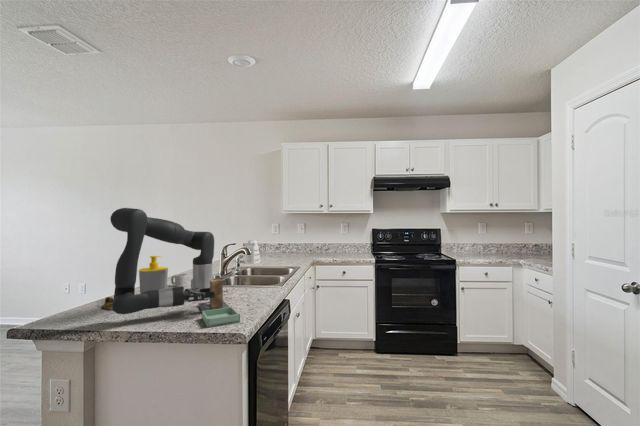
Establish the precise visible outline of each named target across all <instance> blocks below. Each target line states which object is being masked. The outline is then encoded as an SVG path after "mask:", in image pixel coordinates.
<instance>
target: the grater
mask: <svg viewBox="0 0 640 426" xmlns="http://www.w3.org/2000/svg"><path fill="white" fill-rule="evenodd" d="M252 241H253V242H254V244H251V242H252ZM246 248H248V249H250V251H251V252H252V254H251V255H246V254H245V256H244V264H251V265H254V264H255V265H256V264H259V263H261V261H262V260H261V255H260V254H261V253H260V247H259V245H258V241H257V240H247V245H246Z"/></svg>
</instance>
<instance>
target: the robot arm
mask: <svg viewBox="0 0 640 426" xmlns="http://www.w3.org/2000/svg"><path fill="white" fill-rule="evenodd" d="M109 219H110V223H111V225H112V226H113V228H114V229H116V230H117V231H119V232H124V233H126V234H127V235H126V236H127V238H126V244H125V247H124V249H123V251H122V253H121V254H120V256H119V258H118V260H117V263H116V266H115V273H114V285H115V287H114V295H113V303H112V309H113V310H112V312H114V313H116V314H118V315H128V314H129V315H130V314H132V313H138V312H141V311H143V310H144V311H145V310H149V309H157V308H158V309H159V308H171V307H180V306H184V305H185V301H186V300H187V302H188V303H191V302H193V303H194V302H199V301H200V302H201V301H206V300H210V298H212V297H215V293H214V292H210V280H213V259H214V257H215V237H214V234H213V233H212V232H210V231H193V230H187V229H185V227H184V226H182V225H181V224H179V223H177V222H175V221H171V220H169V219H168V220H167V219H163V218H157V217H156V218H155V217H149V216H148V215H147V213H146V212H145V211H144V210H142V209H140V208H131V207H121V208H118V209H116V210H115V211H113V212H112V214H111V215H110V218H109ZM145 236H146V237H149V238H151V239H155V240H158V241H162V242H165V243H168V244H175V245H183V246H185V247H187V248H190V249H192V250H196V251H200V252H199V253H200V254H199V255H198V256H195V257H193V259H192V278H191V280H190V288H185V287H175V286H174V287H167V288H164V289H159V290H150V291H145V292H143V293H142V294H140V293H138V294H137V293H136V292H135V291H136V290H135V289H136V288H135V287H136V282H137V275H138V274H137V273H138V262H139V258H140V252H141V249H142V246H143V242H144V239H145Z"/></svg>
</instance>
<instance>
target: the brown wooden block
mask: <svg viewBox="0 0 640 426" xmlns="http://www.w3.org/2000/svg"><path fill="white" fill-rule="evenodd" d="M223 288H224V281H223V279H221V278H217V279H212V280H210V292H214V293H215V297H212V298H210V299H209V301H210V308H211V310H213V309H220V308H223V301H224V299H223V295H224V294H223V293H224V289H223Z"/></svg>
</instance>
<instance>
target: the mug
mask: <svg viewBox="0 0 640 426" xmlns="http://www.w3.org/2000/svg"><path fill="white" fill-rule="evenodd" d="M170 282H171V284H172V285H174V287H184V288H185V287H187V286H188V273H179V274H175V275H173V276H171V279H170Z"/></svg>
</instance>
